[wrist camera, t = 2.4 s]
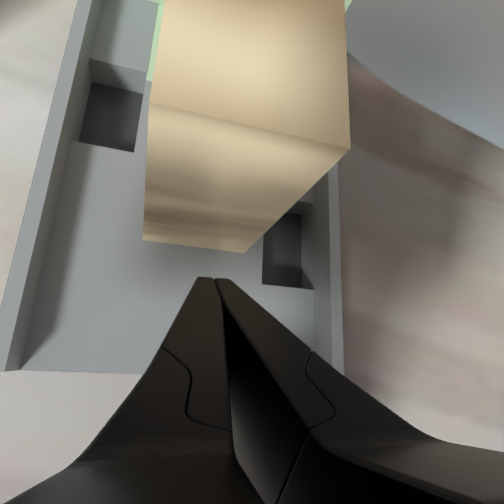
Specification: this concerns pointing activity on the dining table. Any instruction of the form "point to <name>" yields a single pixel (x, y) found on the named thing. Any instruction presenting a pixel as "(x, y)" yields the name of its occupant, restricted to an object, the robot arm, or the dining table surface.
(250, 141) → the block
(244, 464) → the robot arm
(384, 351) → the dining table surface
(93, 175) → the lane
